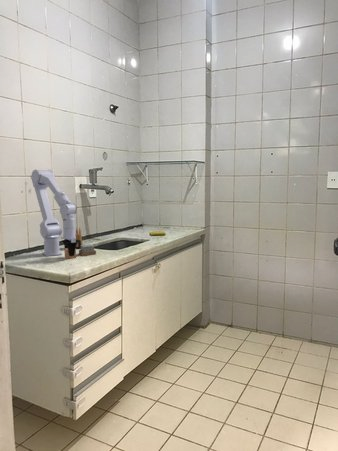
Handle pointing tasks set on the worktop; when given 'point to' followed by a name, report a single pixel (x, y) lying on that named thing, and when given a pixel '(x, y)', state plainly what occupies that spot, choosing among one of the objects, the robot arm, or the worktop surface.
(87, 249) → the grey slab
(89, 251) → the walnut slab
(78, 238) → the ammunition clip
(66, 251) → the terracotta cube
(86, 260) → the worktop surface
